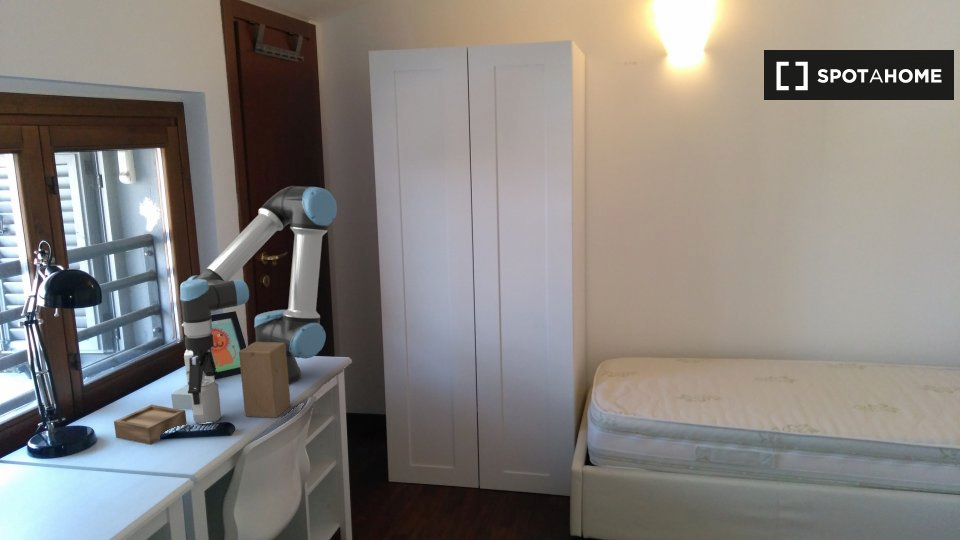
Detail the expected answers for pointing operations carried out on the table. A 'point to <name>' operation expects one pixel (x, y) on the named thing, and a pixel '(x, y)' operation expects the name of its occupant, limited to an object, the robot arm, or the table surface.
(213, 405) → the can
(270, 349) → the wooden block
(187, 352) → the ink box
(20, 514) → the table surface
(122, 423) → the walnut base block
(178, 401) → the slate painted block
